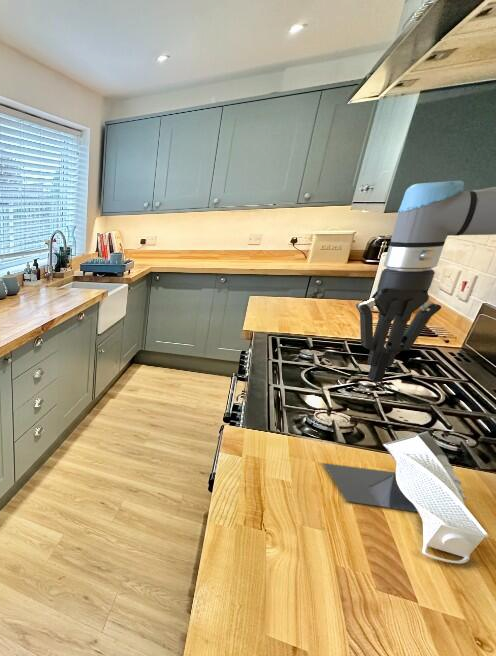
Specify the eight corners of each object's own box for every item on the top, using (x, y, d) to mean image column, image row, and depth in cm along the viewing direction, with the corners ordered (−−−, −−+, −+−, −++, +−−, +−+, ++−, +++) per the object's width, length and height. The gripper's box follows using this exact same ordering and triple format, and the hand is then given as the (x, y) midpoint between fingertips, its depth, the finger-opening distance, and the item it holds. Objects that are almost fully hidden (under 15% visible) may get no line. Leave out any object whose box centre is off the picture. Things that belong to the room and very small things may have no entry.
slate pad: (401, 474, 84) (401, 473, 84) (438, 515, 73) (439, 514, 73) (323, 464, 88) (323, 463, 88) (347, 502, 77) (347, 501, 77)
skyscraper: (393, 472, 86) (441, 579, 65) (371, 442, 86) (411, 539, 64) (448, 459, 80) (519, 570, 59) (424, 426, 80) (487, 526, 59)
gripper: (376, 271, 81) (344, 384, 89) (465, 270, 76) (423, 388, 85) (359, 266, 87) (331, 371, 96) (440, 265, 83) (403, 375, 91)
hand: (374, 379), depth 90 cm, fingers closed
